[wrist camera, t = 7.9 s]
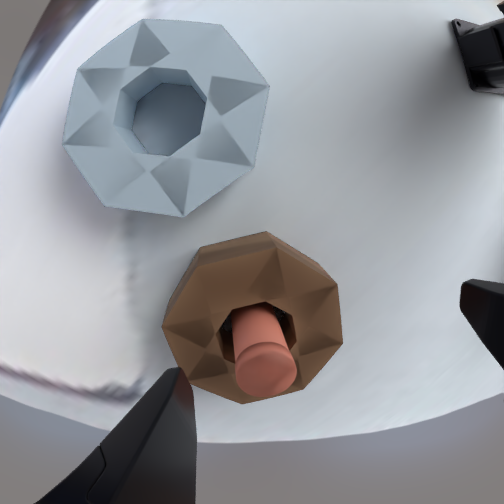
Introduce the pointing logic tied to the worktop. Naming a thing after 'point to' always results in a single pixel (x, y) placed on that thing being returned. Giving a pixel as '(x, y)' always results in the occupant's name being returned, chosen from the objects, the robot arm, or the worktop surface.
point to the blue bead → (141, 83)
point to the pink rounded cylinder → (261, 351)
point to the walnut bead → (247, 293)
